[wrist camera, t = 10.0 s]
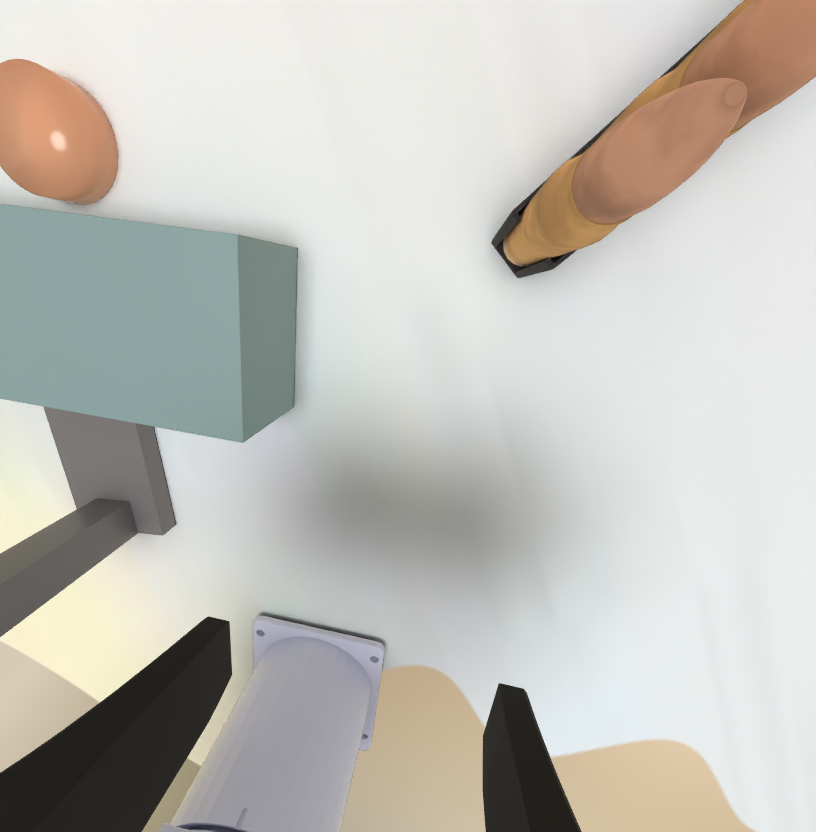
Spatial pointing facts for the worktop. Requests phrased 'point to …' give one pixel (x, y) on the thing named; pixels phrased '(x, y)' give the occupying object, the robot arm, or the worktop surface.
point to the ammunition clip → (665, 132)
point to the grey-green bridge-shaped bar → (146, 322)
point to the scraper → (88, 509)
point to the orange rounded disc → (54, 135)
